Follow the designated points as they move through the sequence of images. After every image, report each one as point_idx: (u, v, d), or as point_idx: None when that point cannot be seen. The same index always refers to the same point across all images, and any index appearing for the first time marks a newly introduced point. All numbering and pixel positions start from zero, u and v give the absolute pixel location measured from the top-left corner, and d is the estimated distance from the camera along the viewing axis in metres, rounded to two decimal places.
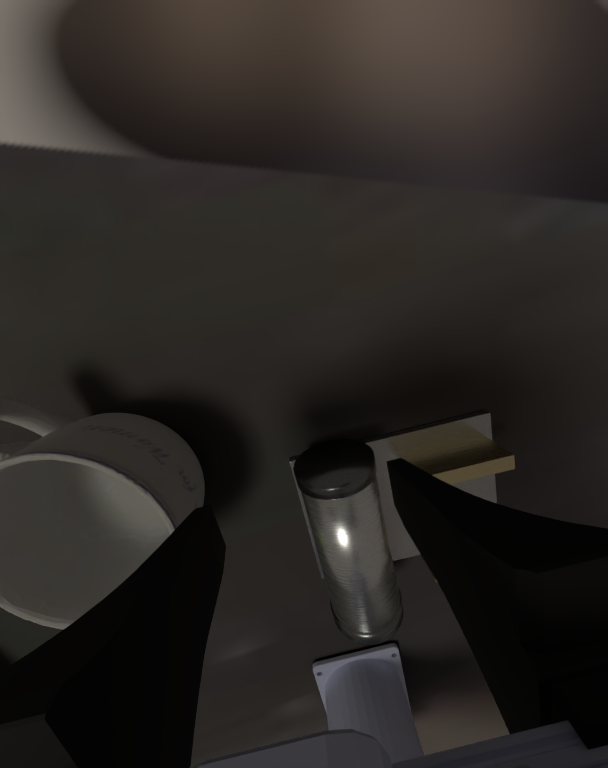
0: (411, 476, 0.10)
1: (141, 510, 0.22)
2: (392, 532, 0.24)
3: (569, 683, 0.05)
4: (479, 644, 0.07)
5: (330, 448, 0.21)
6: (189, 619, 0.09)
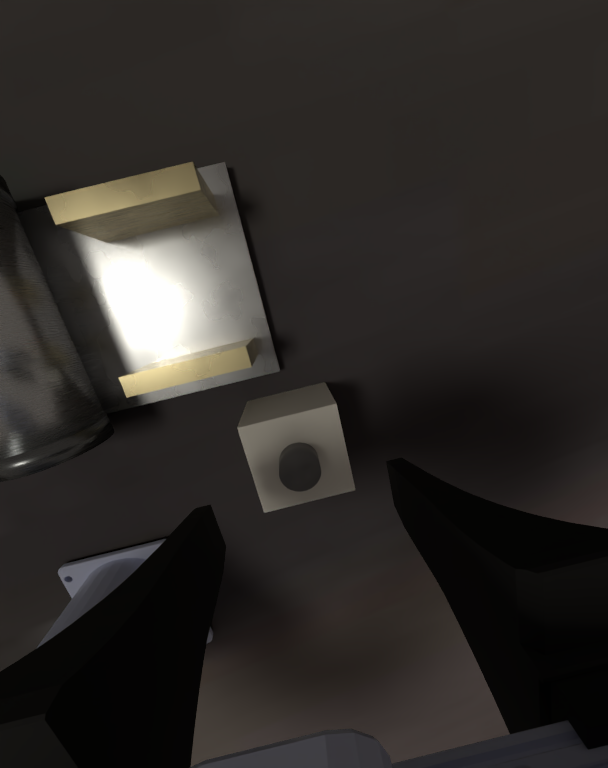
0: (411, 476, 0.10)
1: None
2: (120, 360, 0.17)
3: (569, 683, 0.05)
4: (479, 644, 0.07)
5: None
6: (189, 619, 0.09)
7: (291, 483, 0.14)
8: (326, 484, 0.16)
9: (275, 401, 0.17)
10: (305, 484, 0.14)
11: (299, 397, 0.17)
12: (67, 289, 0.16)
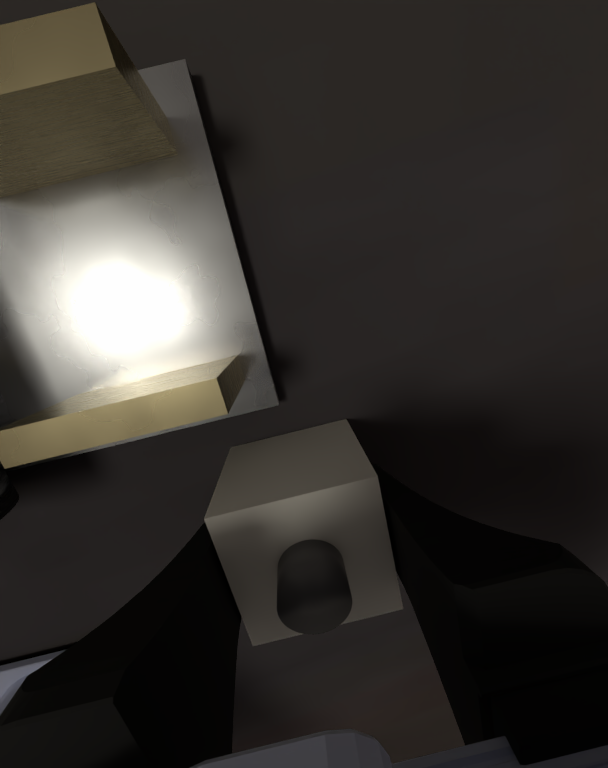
0: (380, 484, 0.10)
1: None
2: (29, 390, 0.11)
3: (506, 698, 0.05)
4: (437, 654, 0.07)
5: None
6: (223, 611, 0.09)
7: (298, 621, 0.08)
8: (356, 602, 0.10)
9: (272, 456, 0.11)
10: (322, 623, 0.08)
11: (310, 450, 0.11)
12: None
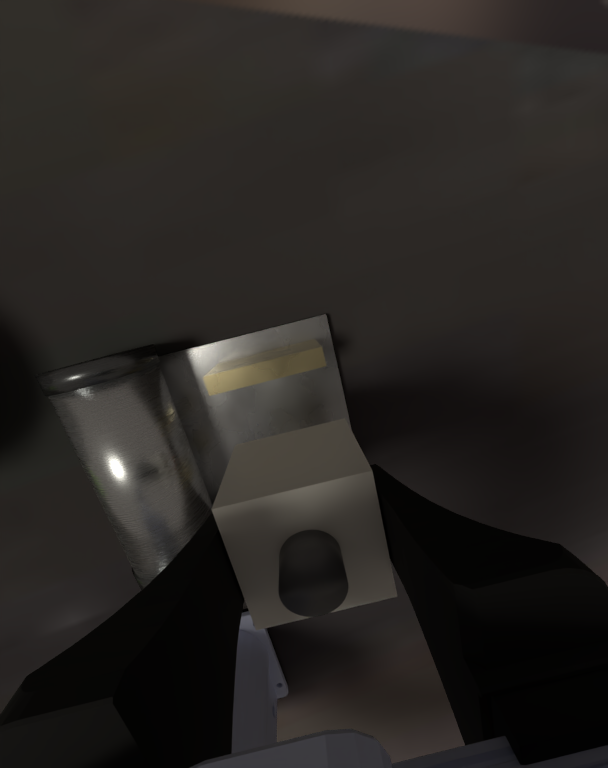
0: (380, 484, 0.10)
1: None
2: None
3: (507, 698, 0.05)
4: (437, 654, 0.07)
5: None
6: (223, 611, 0.09)
7: (298, 604, 0.09)
8: (352, 589, 0.10)
9: (275, 452, 0.12)
10: (321, 606, 0.09)
11: (310, 447, 0.11)
12: (188, 416, 0.19)
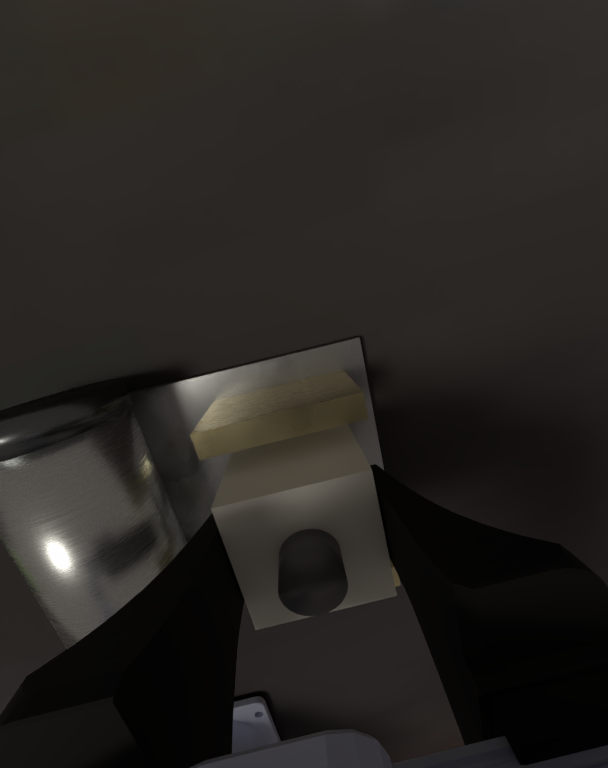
0: (380, 484, 0.10)
1: None
2: None
3: (507, 699, 0.05)
4: (437, 654, 0.07)
5: (72, 391, 0.12)
6: (223, 610, 0.09)
7: (298, 604, 0.09)
8: (352, 588, 0.10)
9: (274, 452, 0.12)
10: (320, 605, 0.09)
11: (309, 446, 0.11)
12: (173, 468, 0.14)
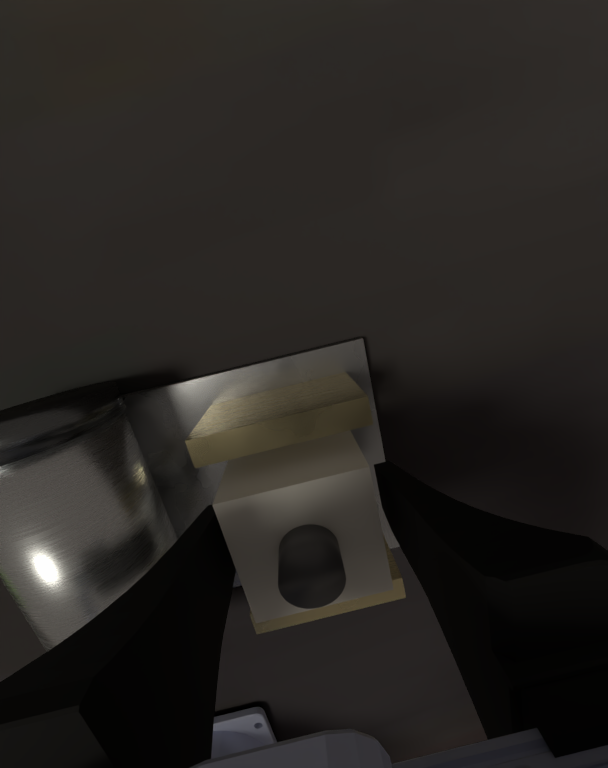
0: (396, 480, 0.10)
1: None
2: None
3: (538, 691, 0.05)
4: (458, 649, 0.07)
5: (62, 394, 0.12)
6: (206, 615, 0.09)
7: (297, 596, 0.09)
8: (350, 582, 0.10)
9: (274, 450, 0.12)
10: (319, 598, 0.09)
11: (308, 444, 0.12)
12: (169, 474, 0.14)
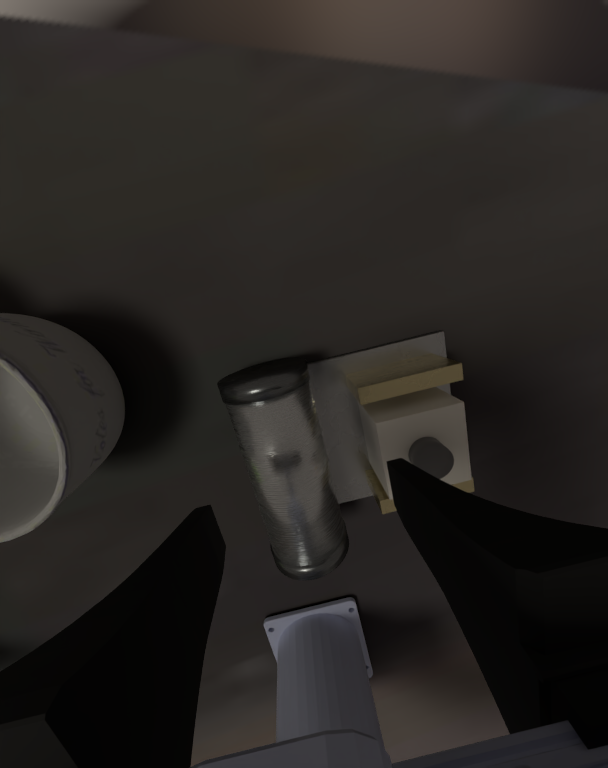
0: (411, 476, 0.10)
1: None
2: (342, 469, 0.22)
3: (569, 683, 0.05)
4: (479, 644, 0.07)
5: (264, 365, 0.19)
6: (189, 619, 0.09)
7: None
8: (447, 474, 0.18)
9: (392, 400, 0.19)
10: (438, 473, 0.16)
11: (414, 396, 0.19)
12: None
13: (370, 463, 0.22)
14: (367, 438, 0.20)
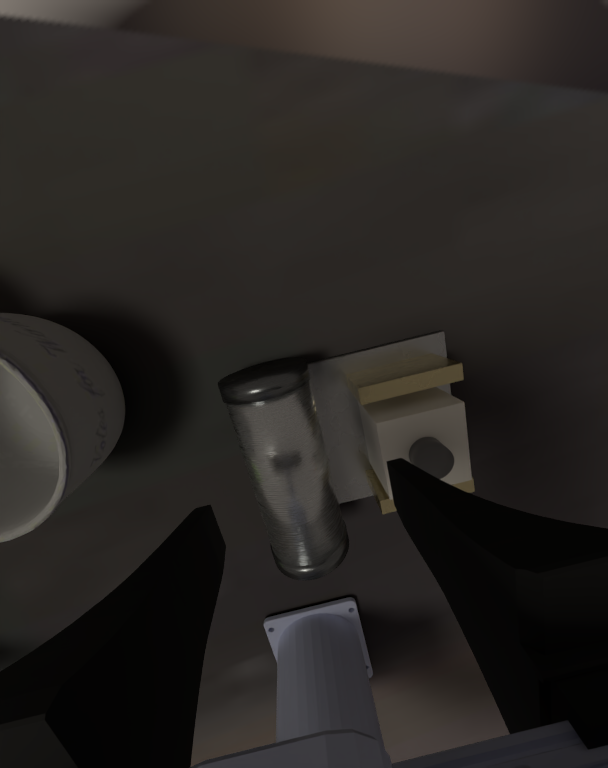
0: (411, 476, 0.10)
1: None
2: (342, 469, 0.22)
3: (569, 683, 0.05)
4: (479, 644, 0.07)
5: (265, 365, 0.19)
6: (189, 619, 0.09)
7: (427, 472, 0.16)
8: (447, 474, 0.18)
9: (392, 400, 0.19)
10: (438, 474, 0.16)
11: (415, 396, 0.19)
12: None
13: (370, 463, 0.22)
14: (367, 438, 0.20)
